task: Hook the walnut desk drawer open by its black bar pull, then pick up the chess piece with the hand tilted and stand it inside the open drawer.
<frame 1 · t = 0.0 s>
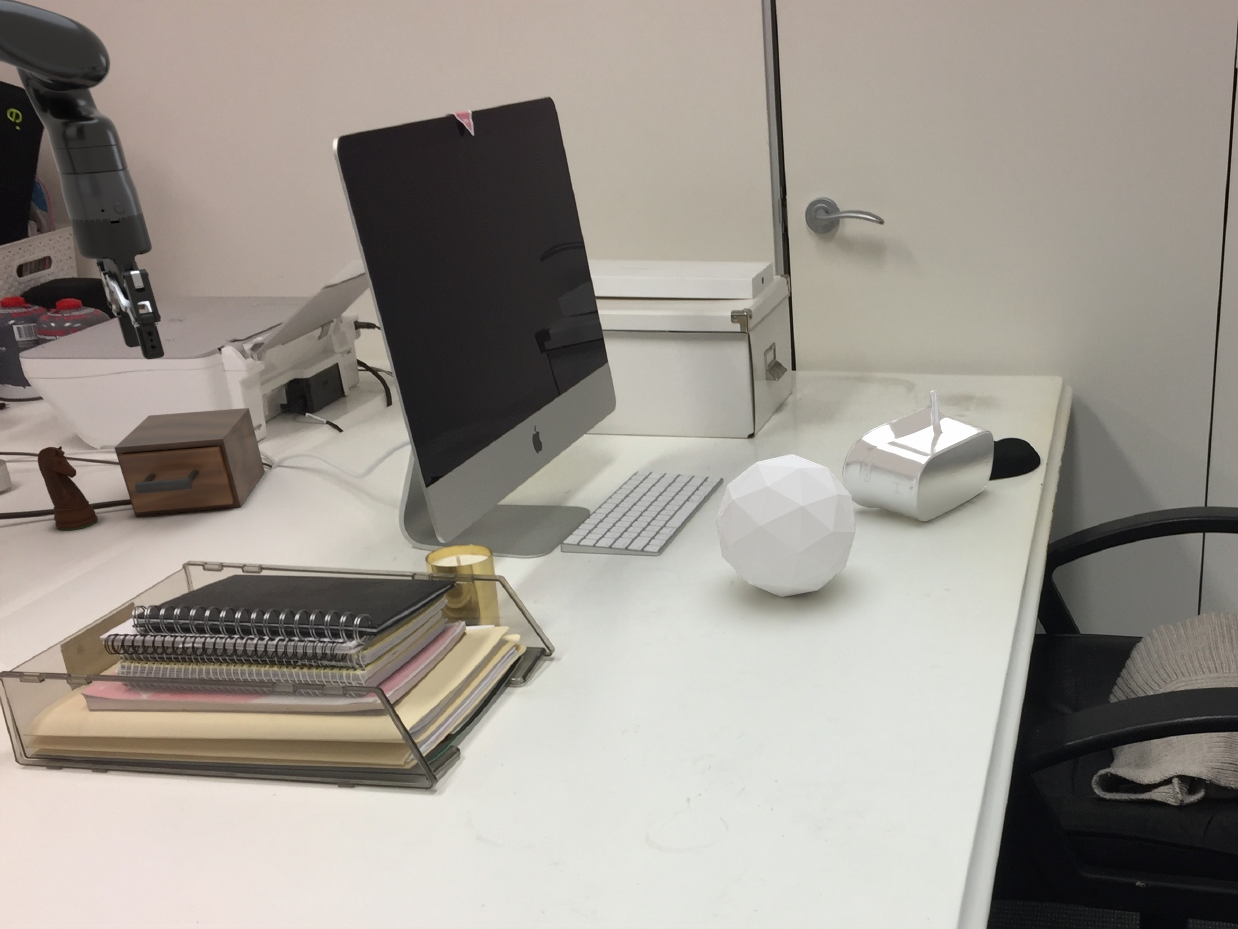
hand: (145, 352, 151), 20 cm above the table, tool pointing down, fingers open, 8 cm apart
cabinet: (203, 493, 165), on the table
chess piece: (76, 525, 156), on the table
vr headset: (920, 501, 157), on the table
drawer: (185, 470, 159), point 5 cm above the table, slide at 0.0 cm
geometric sphere: (790, 588, 133), on the table
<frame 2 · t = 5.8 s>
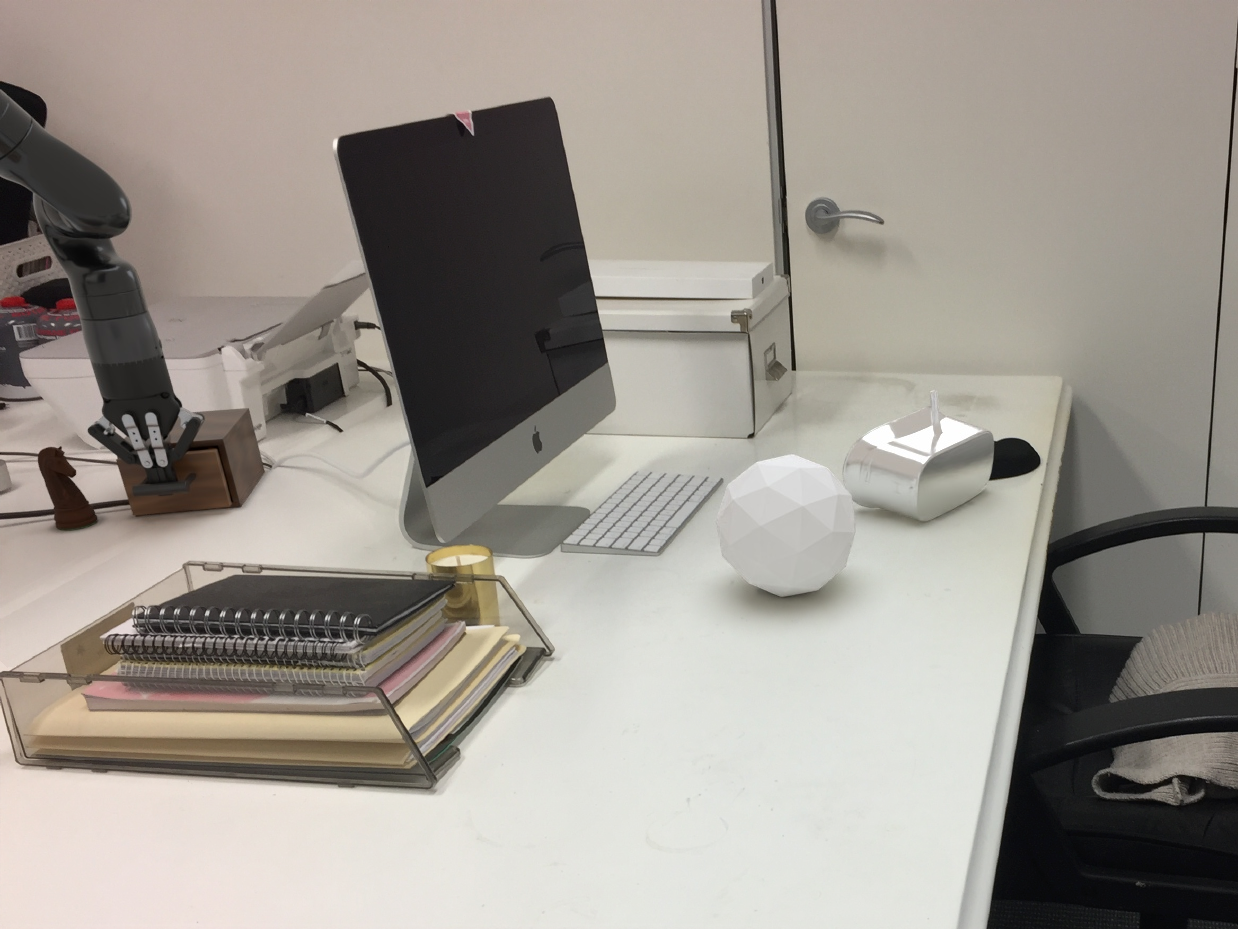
hand: (167, 493, 153), 4 cm above the table, tool pointing down, fingers closed
drawer: (182, 473, 158), point 5 cm above the table, slide at 1.1 cm, touching gripper
everything else where it was.
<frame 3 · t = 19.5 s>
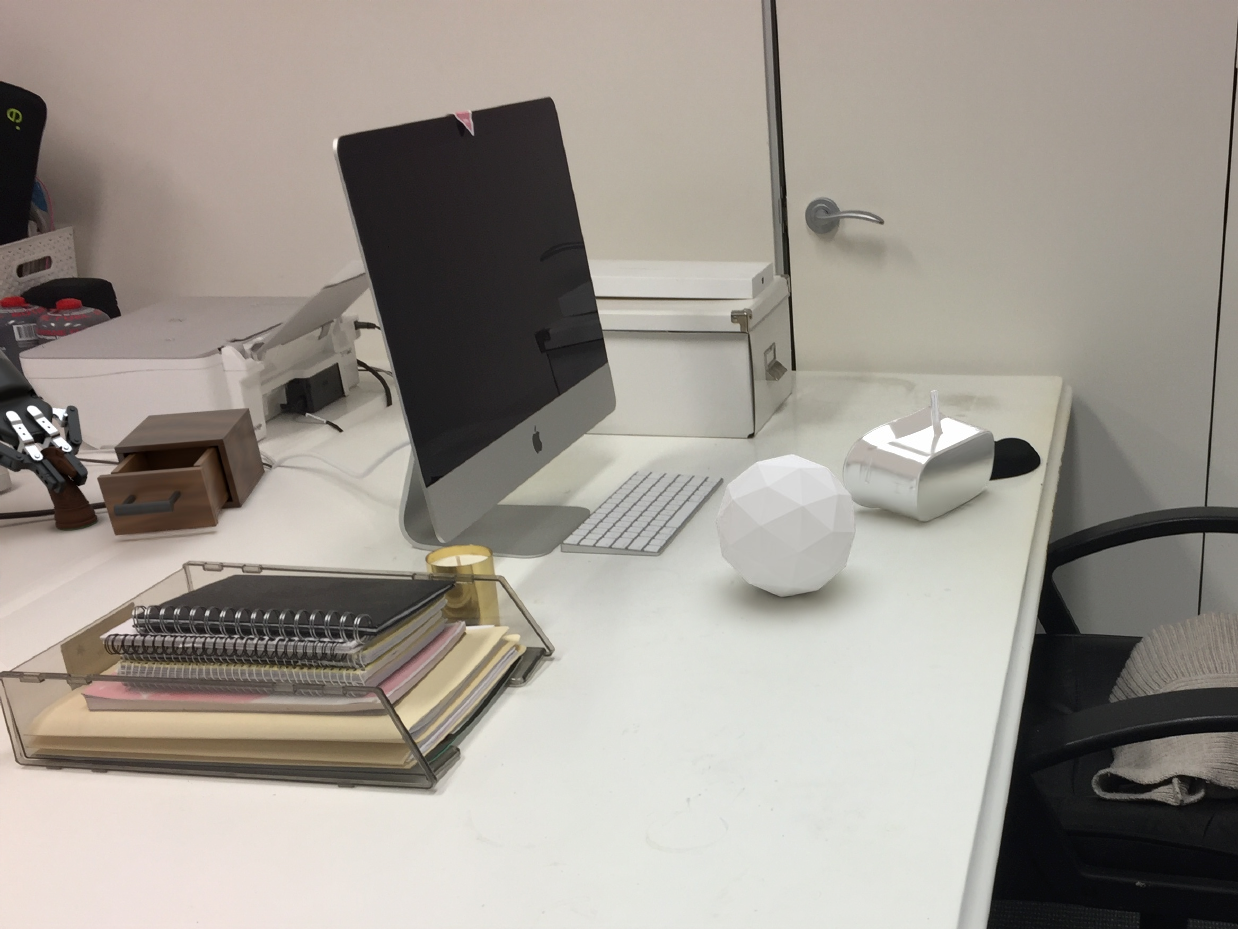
hand: (72, 484, 153), 5 cm above the table, tool tilted 45°, fingers closed on chess piece
chess piece: (76, 525, 156), on the table, touching gripper
drawer: (167, 491, 152), point 5 cm above the table, slide at 8.2 cm
everything else where it was.
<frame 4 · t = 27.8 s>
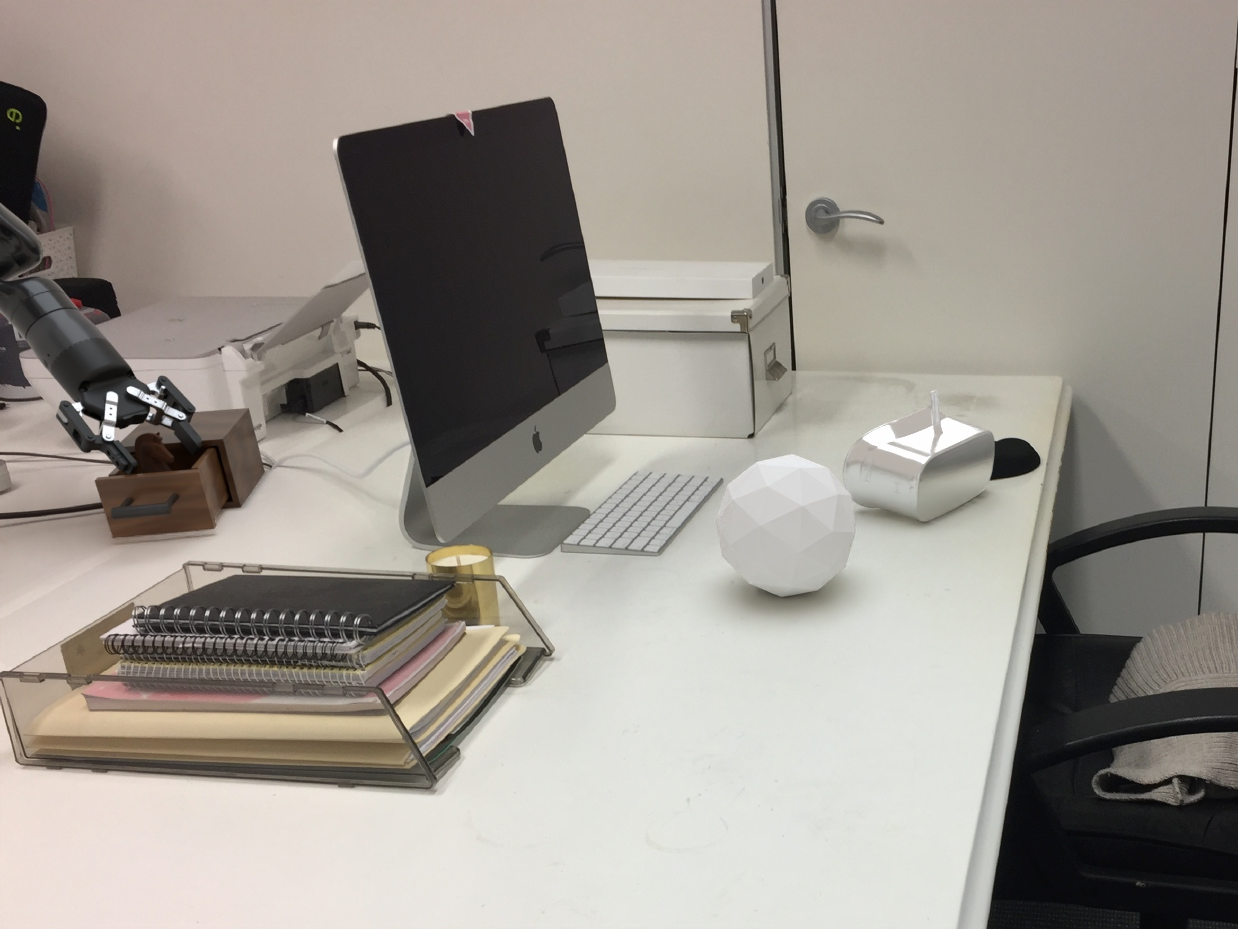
hand: (166, 460, 151), 9 cm above the table, tool tilted 45°, fingers open, 8 cm apart
chess piece: (171, 512, 153), point 2 cm above the table, touching drawer
drawer: (165, 494, 151), point 5 cm above the table, slide at 9.0 cm, touching chess piece
everything else where it was.
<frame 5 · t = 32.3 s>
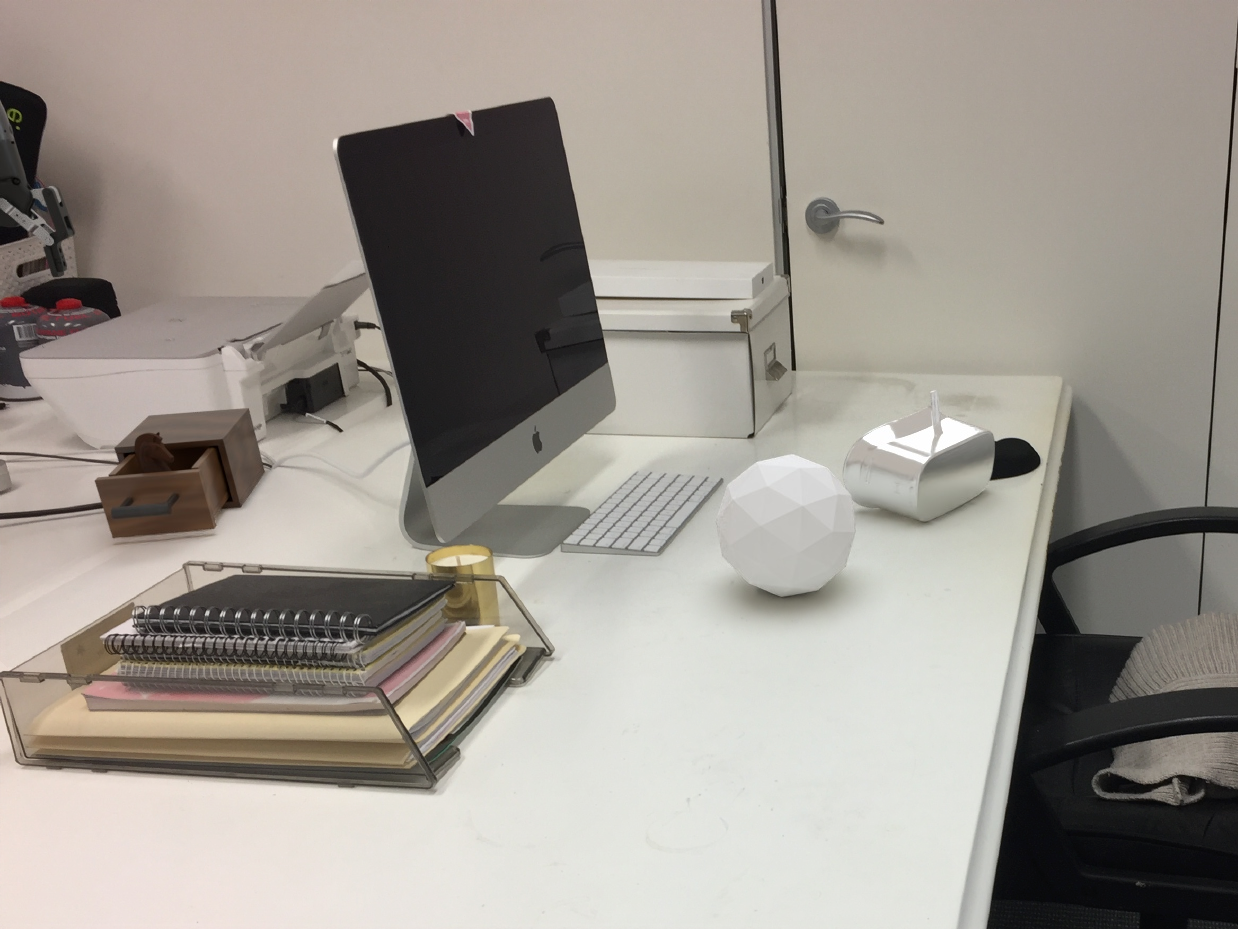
hand: (21, 278, 153), 28 cm above the table, tool pointing down, fingers open, 8 cm apart
nothing on the table moved.
at the end: drawer slide at 9.0 cm; chess piece inside the target area in the drawer (1.1 cm from its centre), point 1.8 cm above the cabinet's base; the gripper is holding nothing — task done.
